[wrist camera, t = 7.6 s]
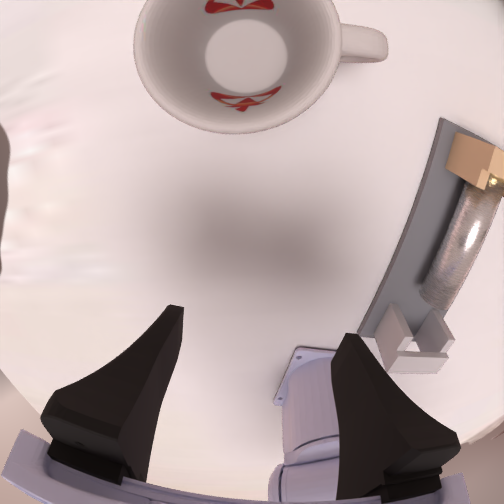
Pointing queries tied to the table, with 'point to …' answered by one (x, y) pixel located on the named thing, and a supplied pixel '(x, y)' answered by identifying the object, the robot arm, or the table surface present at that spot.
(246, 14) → the cup
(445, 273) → the tube
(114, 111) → the table surface
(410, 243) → the board
